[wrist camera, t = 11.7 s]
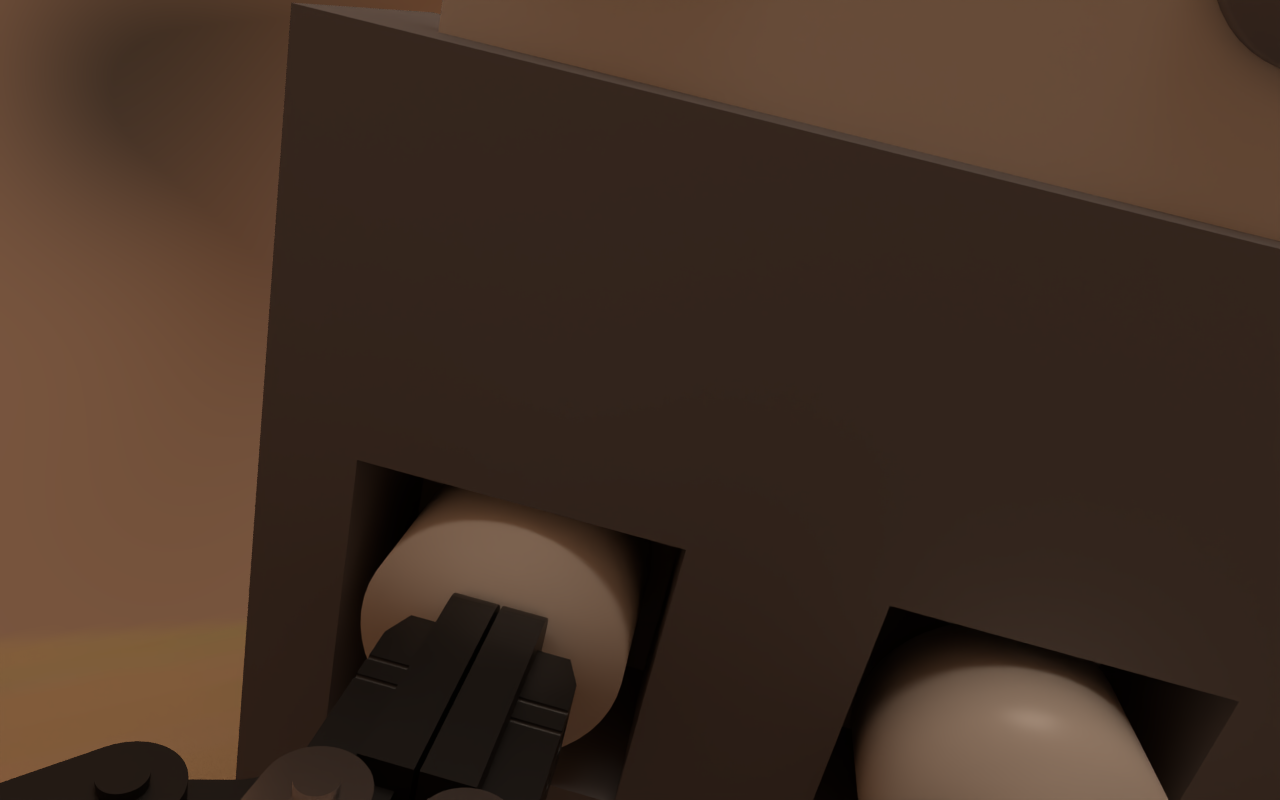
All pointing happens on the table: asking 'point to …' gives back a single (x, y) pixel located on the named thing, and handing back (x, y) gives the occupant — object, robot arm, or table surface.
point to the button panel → (757, 410)
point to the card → (966, 81)
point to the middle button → (993, 725)
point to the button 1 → (521, 584)
